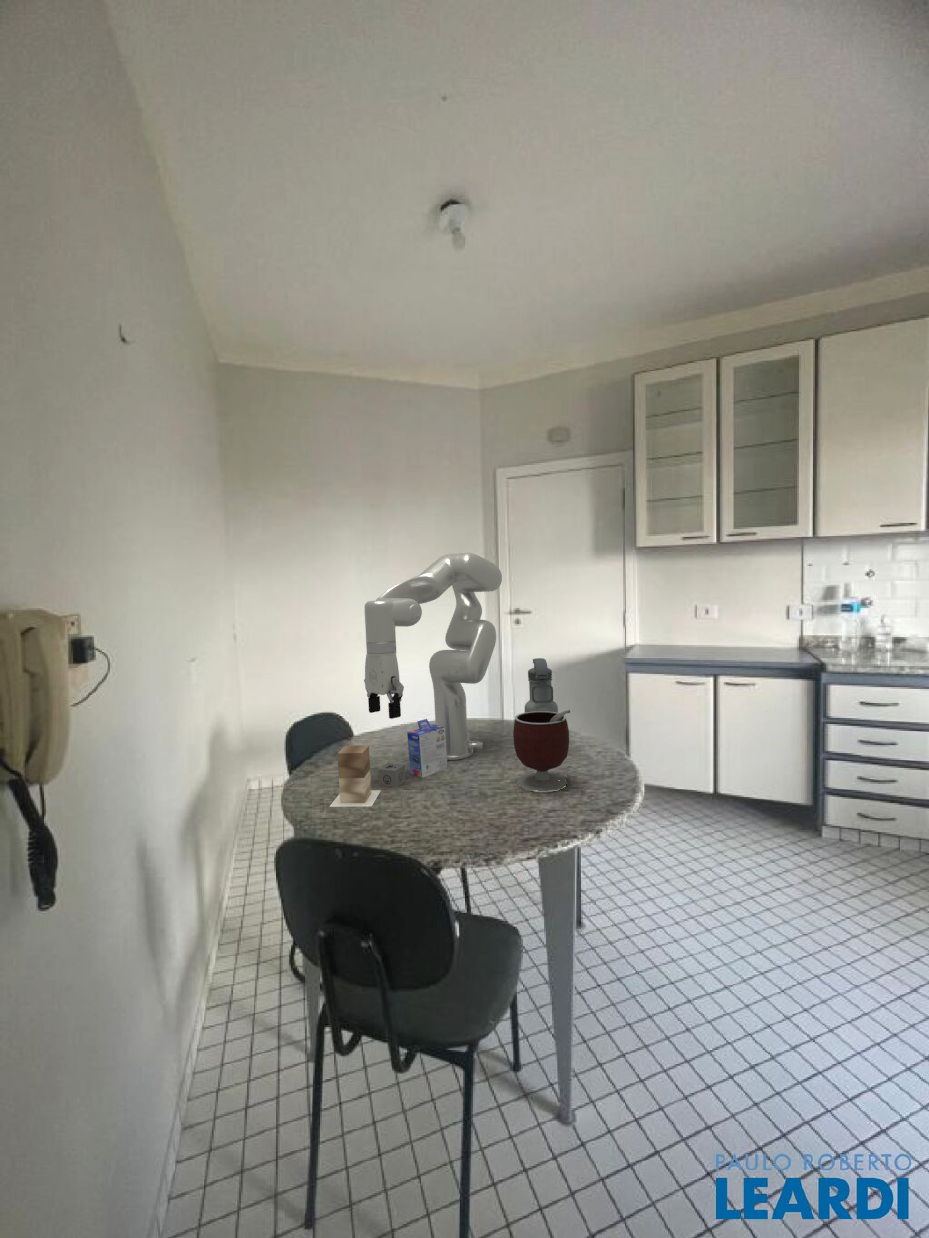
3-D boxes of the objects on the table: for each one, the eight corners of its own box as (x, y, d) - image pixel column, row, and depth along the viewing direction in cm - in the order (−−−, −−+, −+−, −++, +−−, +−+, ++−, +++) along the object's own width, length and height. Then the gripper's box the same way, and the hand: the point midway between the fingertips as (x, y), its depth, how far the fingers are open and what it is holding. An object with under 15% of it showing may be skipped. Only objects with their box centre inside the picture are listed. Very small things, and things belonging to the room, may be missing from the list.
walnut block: (370, 769, 136) (368, 745, 135) (363, 777, 130) (362, 752, 130) (346, 769, 136) (344, 745, 136) (338, 778, 130) (337, 753, 130)
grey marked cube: (389, 781, 146) (388, 763, 146) (405, 783, 144) (404, 764, 144) (379, 788, 141) (378, 769, 141) (396, 790, 139) (395, 770, 139)
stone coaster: (381, 792, 138) (381, 790, 138) (371, 808, 128) (371, 806, 128) (342, 792, 139) (342, 790, 139) (329, 809, 129) (329, 806, 129)
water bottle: (561, 758, 159) (559, 661, 157) (527, 759, 159) (524, 663, 157) (556, 747, 169) (553, 657, 167) (524, 749, 169) (521, 658, 167)
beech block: (371, 793, 136) (370, 769, 136) (365, 802, 130) (363, 777, 130) (347, 793, 137) (346, 769, 136) (340, 803, 131) (338, 778, 130)
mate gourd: (503, 785, 139) (501, 707, 138) (536, 770, 149) (533, 697, 148) (555, 800, 129) (553, 715, 127) (586, 783, 139) (584, 704, 137)
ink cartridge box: (434, 765, 157) (432, 715, 156) (448, 769, 153) (446, 718, 152) (408, 775, 150) (405, 723, 149) (422, 780, 146) (419, 726, 145)
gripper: (351, 648, 145) (355, 712, 146) (387, 652, 132) (390, 723, 133) (376, 645, 150) (379, 707, 151) (412, 649, 137) (415, 717, 138)
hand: (384, 714), depth 142 cm, fingers open, 9 cm apart
